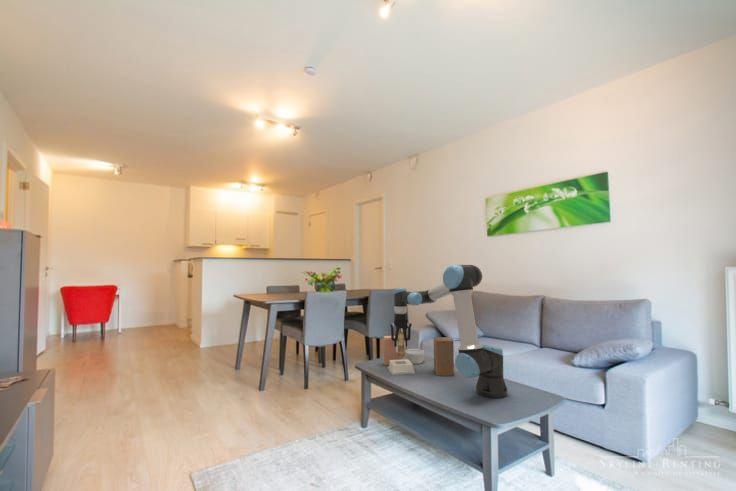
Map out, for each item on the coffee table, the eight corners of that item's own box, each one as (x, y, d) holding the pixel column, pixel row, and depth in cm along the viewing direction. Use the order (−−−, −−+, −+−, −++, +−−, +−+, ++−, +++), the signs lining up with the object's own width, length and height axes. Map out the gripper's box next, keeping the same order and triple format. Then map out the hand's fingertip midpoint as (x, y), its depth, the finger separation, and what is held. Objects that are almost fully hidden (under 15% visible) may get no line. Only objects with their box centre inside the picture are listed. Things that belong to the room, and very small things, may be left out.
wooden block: (454, 375, 207) (453, 340, 208) (436, 375, 207) (436, 340, 208) (450, 370, 217) (450, 337, 218) (433, 370, 217) (433, 337, 218)
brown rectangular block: (404, 366, 225) (404, 337, 226) (385, 367, 224) (385, 338, 225) (402, 363, 232) (401, 335, 233) (383, 364, 231) (383, 336, 232)
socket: (415, 373, 211) (415, 365, 211) (391, 374, 209) (391, 366, 209) (409, 366, 225) (409, 358, 225) (387, 367, 223) (387, 359, 223)
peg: (404, 356, 216) (404, 333, 216) (398, 357, 215) (398, 333, 216) (403, 355, 220) (403, 332, 220) (396, 355, 219) (396, 332, 220)
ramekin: (400, 360, 240) (400, 350, 240) (417, 358, 245) (417, 348, 245) (411, 365, 228) (411, 354, 228) (428, 363, 233) (428, 352, 233)
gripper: (412, 311, 223) (412, 349, 222) (385, 312, 221) (385, 350, 220) (415, 313, 216) (416, 353, 215) (387, 314, 214) (388, 354, 213)
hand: (400, 351), depth 217 cm, fingers closed on peg, 4 cm apart
